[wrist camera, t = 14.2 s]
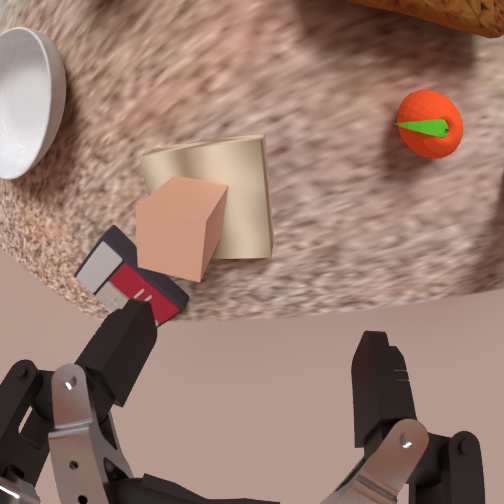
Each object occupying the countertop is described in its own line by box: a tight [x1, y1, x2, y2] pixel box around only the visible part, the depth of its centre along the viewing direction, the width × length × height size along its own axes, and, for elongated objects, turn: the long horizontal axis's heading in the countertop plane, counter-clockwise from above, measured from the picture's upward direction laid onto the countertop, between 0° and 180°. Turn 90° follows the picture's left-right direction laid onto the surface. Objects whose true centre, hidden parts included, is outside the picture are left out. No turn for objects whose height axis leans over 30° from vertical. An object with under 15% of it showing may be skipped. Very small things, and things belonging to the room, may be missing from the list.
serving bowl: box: [0, 27, 66, 180], centre depth 24 cm, size 21×21×7 cm
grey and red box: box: [74, 225, 189, 327], centre depth 40 cm, size 11×4×15 cm
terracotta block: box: [136, 176, 229, 282], centre depth 25 cm, size 6×6×8 cm
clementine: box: [393, 90, 463, 159], centre depth 22 cm, size 8×7×7 cm
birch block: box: [140, 134, 274, 259], centre depth 30 cm, size 12×12×5 cm
